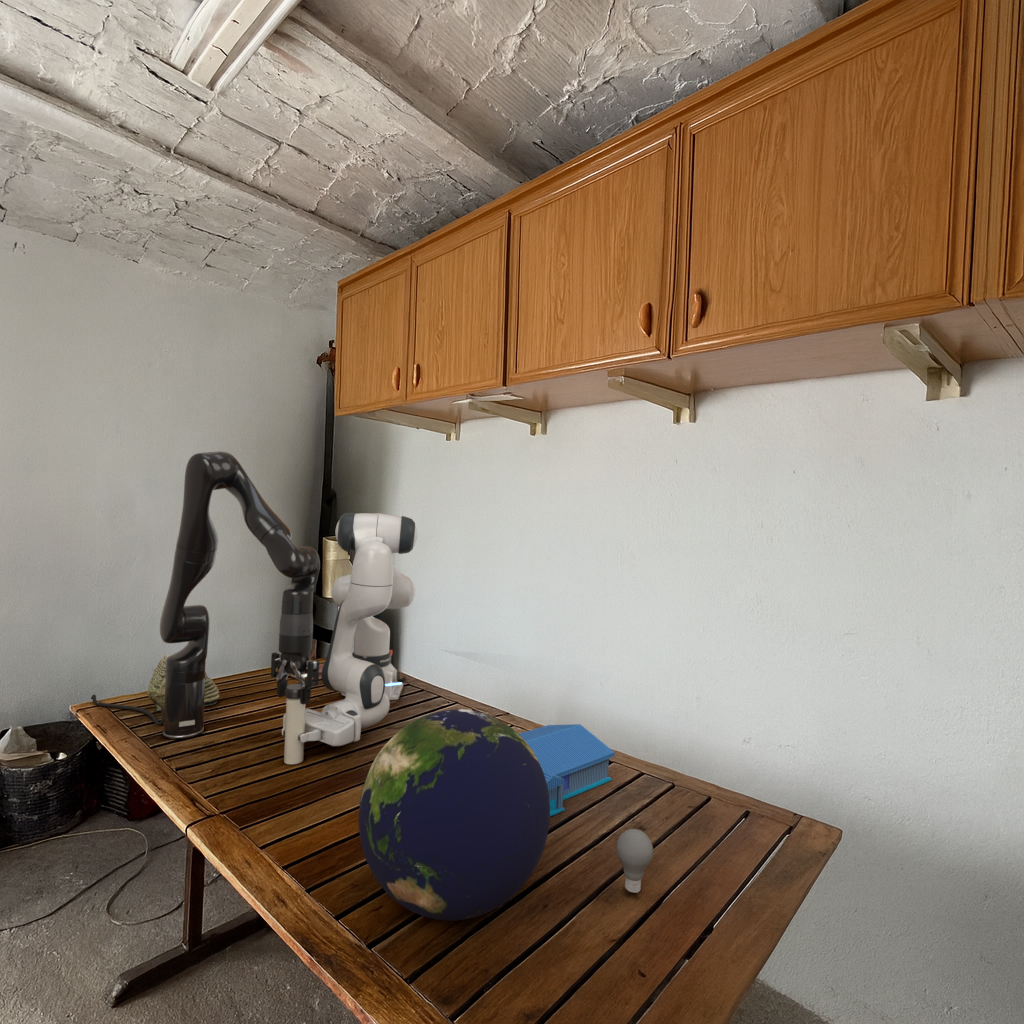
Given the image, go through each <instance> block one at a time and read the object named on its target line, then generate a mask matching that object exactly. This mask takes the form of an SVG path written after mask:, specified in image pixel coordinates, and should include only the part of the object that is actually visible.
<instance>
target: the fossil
mask: <svg viewBox="0 0 1024 1024" xmlns="http://www.w3.org/2000/svg"><path fill="white" fill-rule="evenodd" d="M171 655H172V654H165V655H164V656H163V657H162V658H161V659H160V660H159V662H158V663H157V666H156V667H155V669H154V670H153V672H152V675H151V677H150V680H149V684H148V688H147V697H148V699H149V700H150V701H152V703H153V704H154V706H155V711H158V712H159V711H160V712H161V706H164V705H165V674H166V660H167V658H168V657H169V656H171ZM220 698H221V696H220V690H219V688H218V686H217V685H216V683H215V682H214V681H213V679H212V678H211V677H209V675H208V674H207V672H206V671H205V693H204V707H207V706H213V705H215V704H217V703H218V701H219V699H220Z"/></svg>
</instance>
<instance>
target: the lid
mask: <svg viewBox="0 0 1024 1024" xmlns="http://www.w3.org/2000/svg"><path fill="white" fill-rule="evenodd" d="M301 688H302V687H301V685H300V683H291V684H289V685H288V684H287V686H286V689H285V696H284V697H285V698H289V699H300V693H301Z"/></svg>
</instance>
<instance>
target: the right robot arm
mask: <svg viewBox="0 0 1024 1024" xmlns="http://www.w3.org/2000/svg"><path fill="white" fill-rule="evenodd" d="M335 538H336V539H335V540H336V541H337V545H338V546H339V547H340V549H341V550H343V551H344V552H346V553H347V556H349V557H350V556H351V554H352V552H355V553H354V559H353V561H352V567H351V574H346V575H340V576H338V577H337V578H336V579H335V581H334V582H333V584H332V586H331V598H332V600H333V602H334V604H335V605H336V606H337V607H338V608H337V612H336V615H335V616H336V617H335V620H334V624H333V629H332V633H331V638H330V642H329V647H328V651H327V655H326V658H325V660H324V662H323V664H324V665H323V668H322V673H321V676H322V679H321V681H322V684H323V686H324V687H325V688H326V690H329V691H332V692H336V693H340V695H341V696H344V697H345V698H344V699H341V700H338V701H335V702H332V703H329V704H325V706H324V707H323V708H322V710H321V711H318V710H314V709H311V708H306V710H305V732H303V733H300V734H298V741H299V742H302V743H303V742H304V743H307V742H315V741H318V742H321V743H324V744H327V745H329V746H331V747H341V746H344V745H347V744H351V743H352V742H353V743H356V742H358V741H360V740H361V733H362V730H365V729H367V728H369V727H372V726H374V725H376V724H378V723H380V722H382V720H383V719H384V718H386V717H387V715H388V714H389V711H390V706H391V705H390V704H391V703H390V701H397V700H399V699H400V696H401V694H402V691H403V689H404V683H403V681H404V680H406V679H407V677H406V676H403V677H402V678H401V677H400V675H401V672H400V671H397V668H395V667H394V665H393V664H392V656H393V649H390V645H391V644H390V641H391V629H390V627H389V625H388V624H387V623H386V622H385V621H383V620H381V619H379V618H376V617H374V616H377V615H379V614H381V613H382V612H384V611H385V610H397V609H402V608H407V607H409V606H411V604H412V603H413V601H414V599H415V597H416V587H415V584H414V581H413V580H412V579H411V578H410V577H409V576H407V575H405V574H404V573H402V572H401V571H400V569H398V567H397V564H396V554H398V555H403V554H409V553H410V552H412V551H413V550H414V547H415V546H416V544H417V540H418V528H417V525H416V522H415V520H414V519H413V518H411V517H408V516H405V515H402V516H399V515H394V514H388V513H381V512H375V513H371V512H370V513H369V512H366V513H365V512H362V513H356V512H355V511H354V512H353V511H352V512H346V513H343V514H342V515H341V516H340V517H339V520H338V522H337V523H336V527H335ZM352 648H353V651H352ZM285 720H286V713H284V715H283V716H282V729H281V735H282V736H283V737H285Z"/></svg>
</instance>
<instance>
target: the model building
mask: <svg viewBox="0 0 1024 1024" xmlns="http://www.w3.org/2000/svg"><path fill="white" fill-rule="evenodd" d="M518 734H519V735H520V736H521V737H522V738H523V739H524V740H525V741H526V742H527V744H528V745H529V746H530V747H531V749H532V750H533V752H534V753H535V755H536V757H537V759H538V760H539V763H540V765H541V768H542V770H543V773H544V776H545V779H546V782H547V787H548V792H549V800H550V817H553V816H555V815H558V814H559V813H562V812H564V811H565V810H566V809H565V807H564V805H563V804H564V801H565V800H568V799H570V798H572V797H575V796H577V795H580V794H582V793H585V792H587V791H589V790H591V789H594V788H597V787H599V786H601V785H603V784H606V783H609V782H610V781H612V779H613V778H612V777H610V776H609V766H610V765H609V763H610V759H612V758H614V757H615V751H613V750H612V749H611V748H610V747H609V746H608V745H606V744H605V743H604V742H603V741H601V740H600V738H598V737H597V736H595V735H594V734H593V733H592V732H591V731H589V730H588V729H587V728H586V727H584V726H583V725H582V724H580V723H578V724H576V723H575V724H548V725H547V724H546V725H544V726H541V727H537V728H533V729H530V730H526V731H524V732H520V733H518Z"/></svg>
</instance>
